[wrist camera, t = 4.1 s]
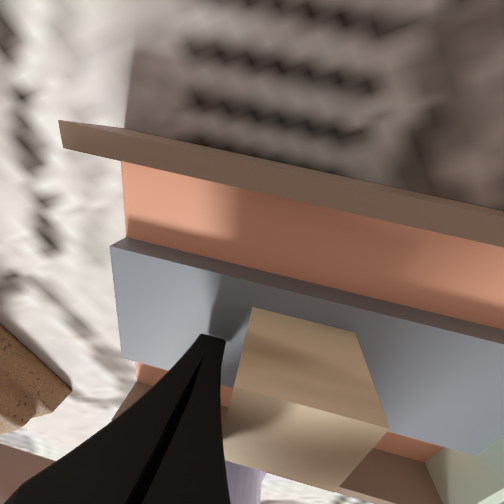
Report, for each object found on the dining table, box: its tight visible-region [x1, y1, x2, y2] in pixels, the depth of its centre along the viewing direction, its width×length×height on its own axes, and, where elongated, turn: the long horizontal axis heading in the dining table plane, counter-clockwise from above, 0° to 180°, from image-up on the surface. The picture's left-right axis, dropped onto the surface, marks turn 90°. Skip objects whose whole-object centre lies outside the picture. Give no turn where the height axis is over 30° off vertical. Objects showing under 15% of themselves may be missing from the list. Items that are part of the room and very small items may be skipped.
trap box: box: [58, 120, 504, 504], centre depth 12 cm, size 18×23×3 cm
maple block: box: [222, 307, 389, 492], centre depth 10 cm, size 5×5×4 cm
